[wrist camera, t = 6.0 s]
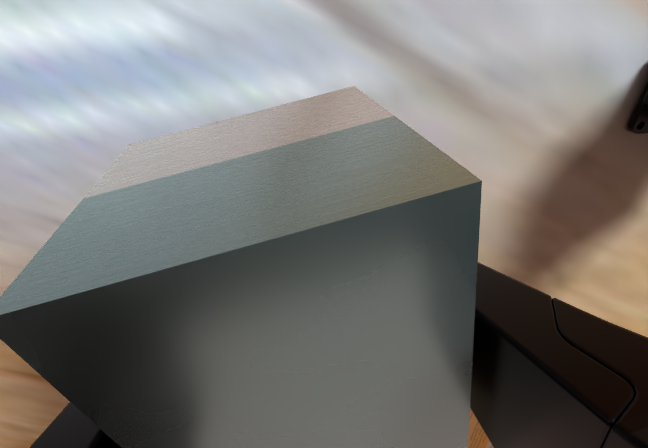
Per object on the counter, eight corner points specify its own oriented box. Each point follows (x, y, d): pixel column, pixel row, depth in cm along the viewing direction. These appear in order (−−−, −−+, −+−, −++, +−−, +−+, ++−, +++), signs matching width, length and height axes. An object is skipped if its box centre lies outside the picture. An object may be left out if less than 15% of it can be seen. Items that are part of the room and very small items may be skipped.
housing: (354, 86, 8) (482, 181, 4) (387, 305, 12) (466, 474, 7) (129, 144, 7) (-21, 319, 3) (238, 348, 11) (233, 549, 7)
